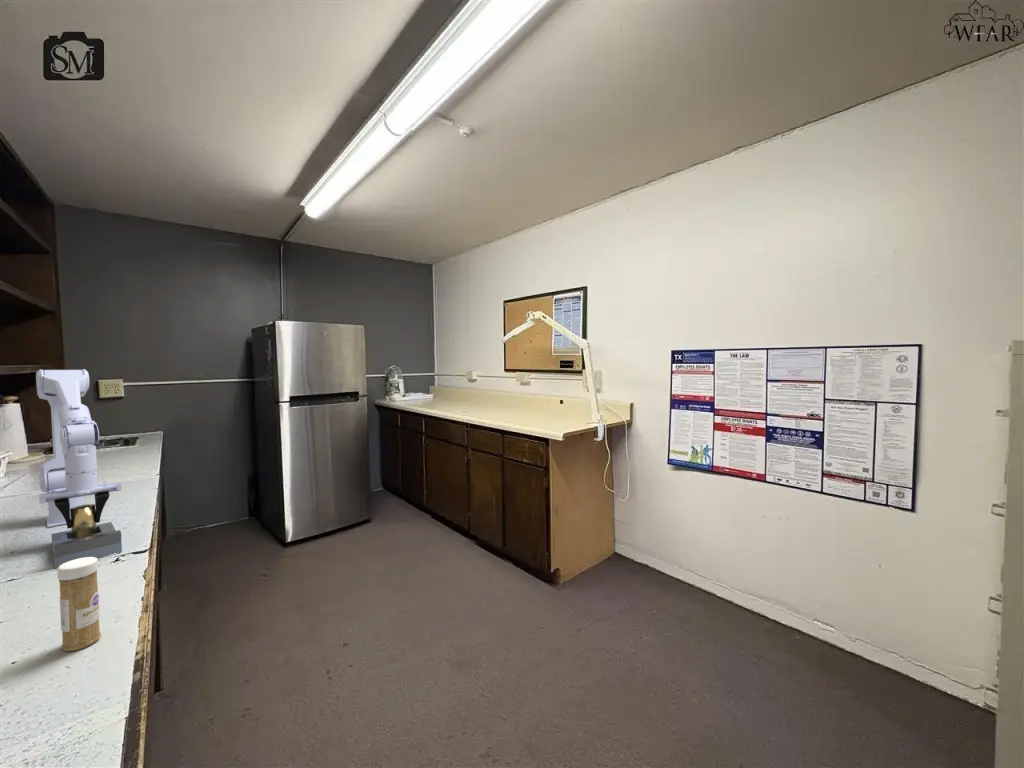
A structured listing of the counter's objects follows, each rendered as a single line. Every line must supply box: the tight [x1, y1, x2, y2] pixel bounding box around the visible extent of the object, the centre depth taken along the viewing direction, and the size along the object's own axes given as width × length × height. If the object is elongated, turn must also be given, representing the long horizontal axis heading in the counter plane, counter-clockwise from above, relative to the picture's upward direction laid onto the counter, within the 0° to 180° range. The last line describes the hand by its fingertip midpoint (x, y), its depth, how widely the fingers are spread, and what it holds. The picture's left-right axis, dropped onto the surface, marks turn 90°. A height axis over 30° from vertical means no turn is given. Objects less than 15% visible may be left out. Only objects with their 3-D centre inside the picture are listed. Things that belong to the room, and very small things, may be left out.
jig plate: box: [51, 521, 123, 570], centre depth 104 cm, size 20×11×5 cm, turn 49°
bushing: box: [70, 503, 97, 538], centre depth 108 cm, size 4×4×7 cm
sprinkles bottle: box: [57, 557, 102, 652], centre depth 69 cm, size 5×5×14 cm
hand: (83, 524), depth 108 cm, fingers closed on bushing, 4 cm apart
